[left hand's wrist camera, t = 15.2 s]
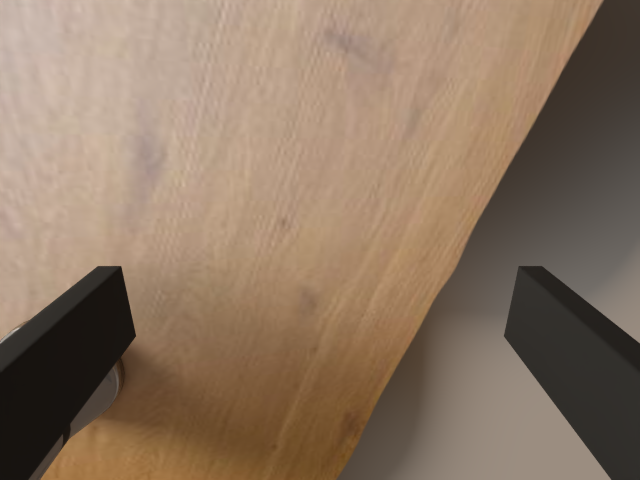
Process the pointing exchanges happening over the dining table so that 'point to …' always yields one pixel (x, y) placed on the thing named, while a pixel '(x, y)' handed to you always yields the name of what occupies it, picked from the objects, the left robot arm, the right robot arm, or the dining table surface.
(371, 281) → the dining table surface
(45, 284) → the dining table surface
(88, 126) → the dining table surface
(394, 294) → the dining table surface
